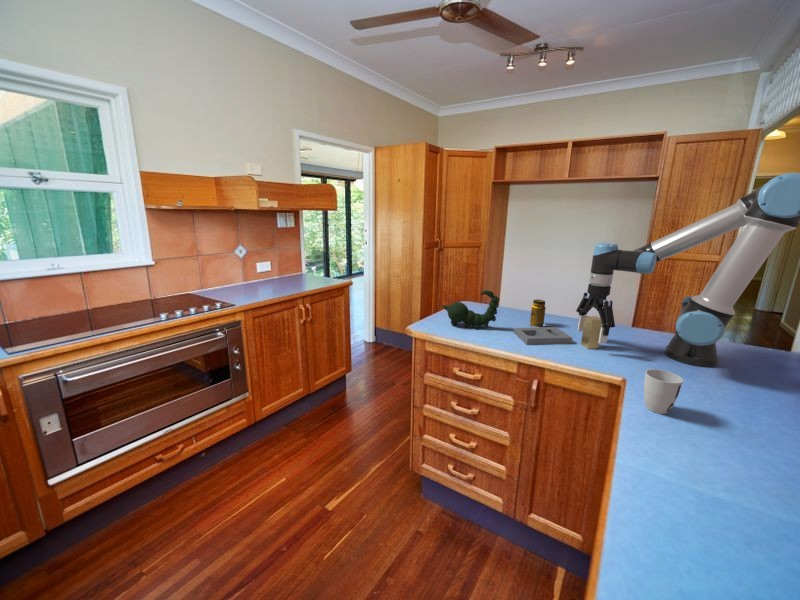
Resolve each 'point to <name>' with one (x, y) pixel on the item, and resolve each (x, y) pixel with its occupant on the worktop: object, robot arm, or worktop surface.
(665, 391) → the cup
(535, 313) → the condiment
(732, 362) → the worktop surface
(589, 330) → the brass peg
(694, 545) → the worktop surface
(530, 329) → the socket plate
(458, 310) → the toy figurine
